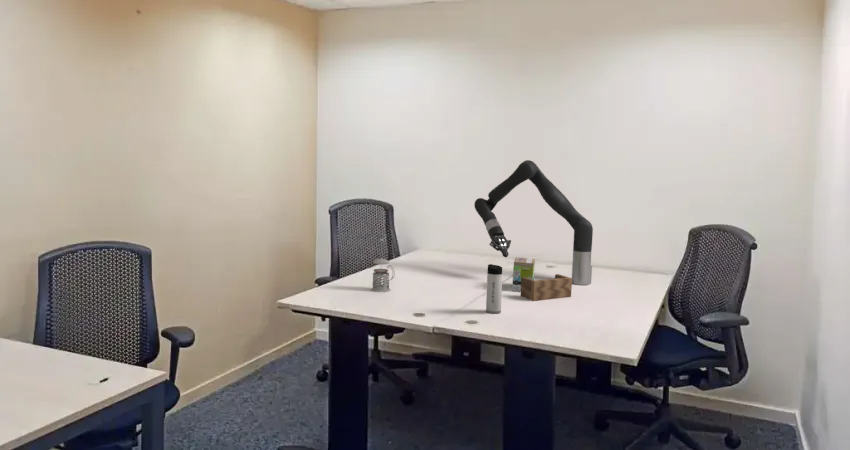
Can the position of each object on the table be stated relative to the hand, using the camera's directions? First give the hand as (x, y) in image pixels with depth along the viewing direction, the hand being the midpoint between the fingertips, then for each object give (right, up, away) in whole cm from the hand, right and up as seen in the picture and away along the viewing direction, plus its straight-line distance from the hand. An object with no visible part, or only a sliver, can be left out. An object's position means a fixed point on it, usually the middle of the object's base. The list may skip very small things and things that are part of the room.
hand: (506, 256), depth 328 cm
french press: (-63, -15, -22) cm, 68 cm away
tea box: (+7, -16, -12) cm, 21 cm away
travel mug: (-13, -21, -58) cm, 63 cm away
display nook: (+14, -18, -27) cm, 35 cm away
